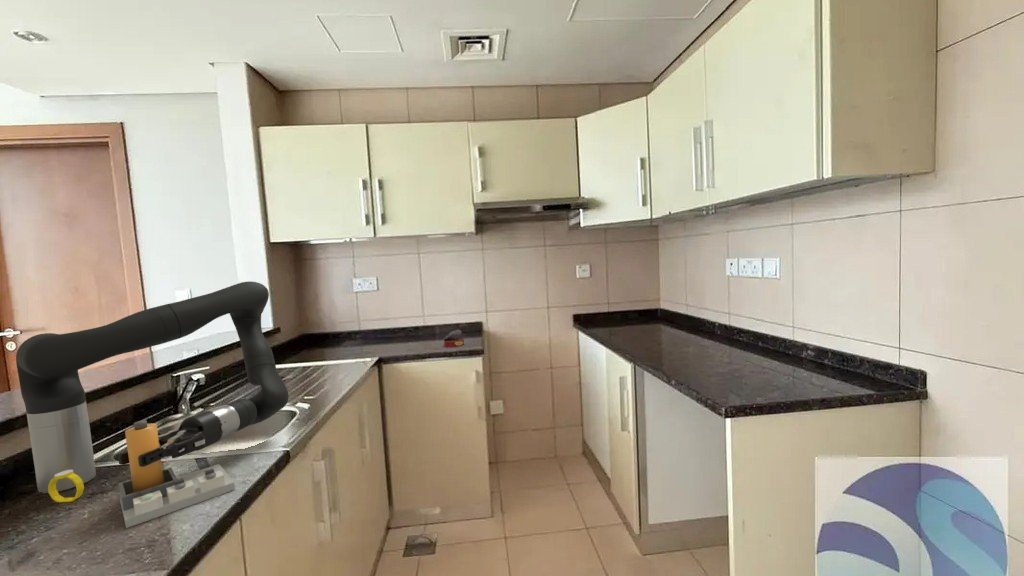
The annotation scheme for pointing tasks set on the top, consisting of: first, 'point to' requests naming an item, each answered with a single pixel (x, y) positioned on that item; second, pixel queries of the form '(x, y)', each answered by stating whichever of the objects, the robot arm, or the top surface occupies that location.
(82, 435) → the robot arm
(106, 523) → the top surface
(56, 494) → the watch
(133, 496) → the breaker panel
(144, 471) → the orange thermos flask
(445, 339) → the canned food
